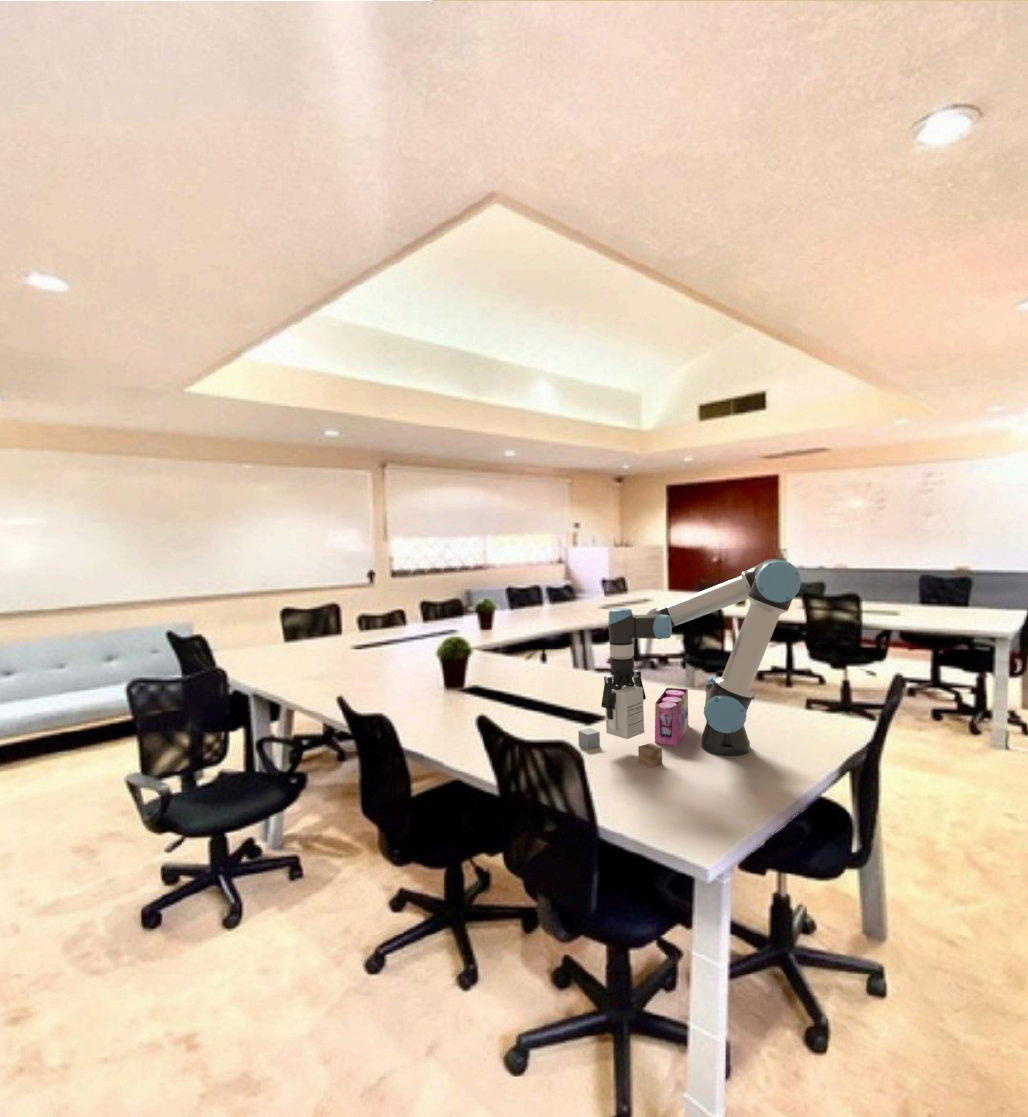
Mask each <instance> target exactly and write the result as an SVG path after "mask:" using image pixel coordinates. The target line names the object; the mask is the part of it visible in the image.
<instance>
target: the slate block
mask: <svg viewBox="0 0 1028 1117" xmlns="http://www.w3.org/2000/svg"><path fill="white" fill-rule="evenodd" d="M600 733H601V732H600V731H598V730H596V729H593V728H591V727H588V728H585V729H581V730H578V746H579V747H581V748H583V749H586V750H587V751H588V750H592V749H596V748H599V747H601V742H600V740H601V738H600V735H601V734H600Z"/></svg>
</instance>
